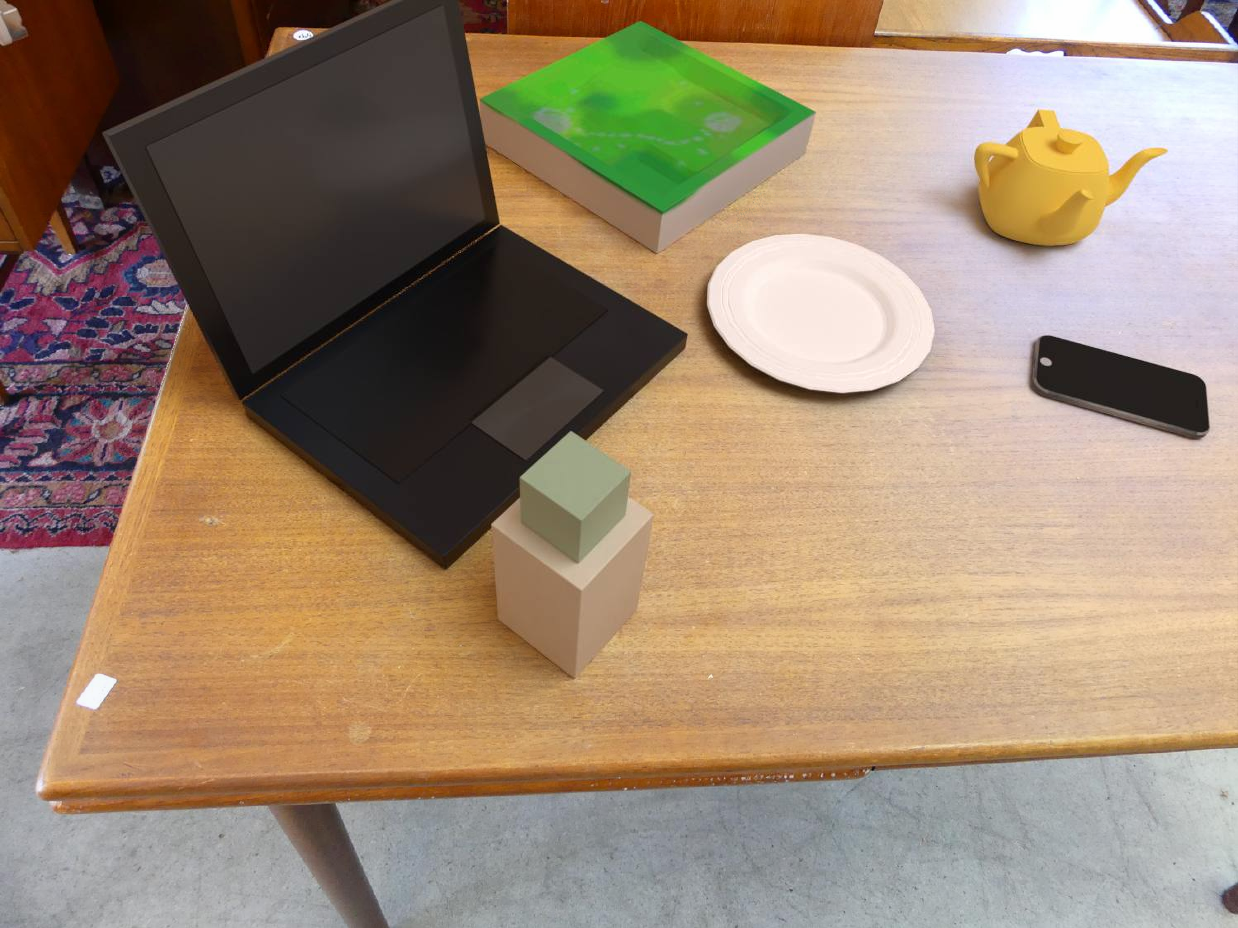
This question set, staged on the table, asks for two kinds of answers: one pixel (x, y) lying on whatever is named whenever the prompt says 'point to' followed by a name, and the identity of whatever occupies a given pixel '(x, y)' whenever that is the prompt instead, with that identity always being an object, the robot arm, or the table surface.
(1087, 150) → the teapot
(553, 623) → the stand
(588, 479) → the block
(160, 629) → the table surface
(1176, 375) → the smartphone
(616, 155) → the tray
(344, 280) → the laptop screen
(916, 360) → the plate
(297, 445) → the laptop
